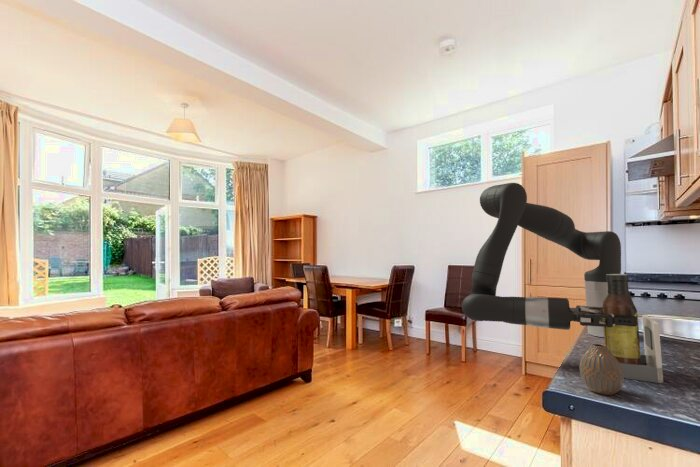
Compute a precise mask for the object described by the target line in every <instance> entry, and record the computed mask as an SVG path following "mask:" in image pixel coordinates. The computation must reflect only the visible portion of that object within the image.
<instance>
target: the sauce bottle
mask: <svg viewBox="0 0 700 467" xmlns="http://www.w3.org/2000/svg"><path fill="white" fill-rule="evenodd" d="M629 278H630V277H629V275H628V274H624V273H621V274H606V280H607V284H608V291H607V292H608V295H607V297H606V298H605V300H604V301H603V313H609V314H610V313H612V314H617V315H632V316H636V317H637V324H638V325H637V326H622V325H615V326H613V327H604V337H603V338H604V339H603V340H604V341H603V342H604V345H606V346H607V348H608V350H609V351H610V352H611V353H612V355H613V356H614V357H615V358H616V359H617V360H618V362H619V363H626V364H635V365H639V364H640V357H641V356H640V354H641V345H640V333H639V332H640V329H639V315H638V310H637V307H636V306H635V303H634V301H633V299H632V296H631V295H630V291H629V280H630V279H629ZM603 321H604V322H606V318H603Z"/></svg>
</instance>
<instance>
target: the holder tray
mask: <svg viewBox="0 0 700 467" xmlns="http://www.w3.org/2000/svg"><path fill="white" fill-rule="evenodd" d="M641 316H642V317H641V318H642V331H643V334H642V335H643V346H644V354H643V353H642V354H641V353H640V356H641V357H640V364H639V365H635V364H626V363H620V365H621V367H622V370H623V375H624V379H627V380H635V381H641V382H649V383H657V384H664V374H663V362H662V350H661V348H662V347H661V346H662V345H661V337H660V335H661V334H660V324H659V322H657V321H655V320H654V319H653V318H651V317H650V316H648V315H644V314H643V315H641Z"/></svg>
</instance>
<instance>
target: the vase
mask: <svg viewBox="0 0 700 467" xmlns="http://www.w3.org/2000/svg"><path fill="white" fill-rule="evenodd" d="M578 367H579V369H578V370H579V374H580V378H581V380H582V382H583V384H584V385H585V386H586V387H587V389H589V390H590V391H592V392H593V393H597V394H600V395H607V396H608V395H609V396H611V395H613V396H614V395H615V394H616V393H618V392H619V391H621V390H622V388H623V384H624V379H625V378H624V375H623V370H622V367H621V365H620V363H619V362H618V360H617V359H616V358H615V357H614V356H613V355H612V353H611V352H610V351H609V350H608V348H607V346H606V345H605V344H602V343H591V345H590V347H589V349H588V350H587V351H586V352H585V353H584V354H583V355H582V356H581V358H580V361H579V366H578Z"/></svg>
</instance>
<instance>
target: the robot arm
mask: <svg viewBox="0 0 700 467" xmlns="http://www.w3.org/2000/svg"><path fill="white" fill-rule="evenodd" d="M479 205H480V207H481V209H482V210H483V211H484V213H486V214H487V215H488V216H489V217H493V218H496V219H497V223H496V224H495V226H494V228H493V230H492V232H491V234H490V235H489V236H488V238H487V239H486V240H485V242H484V243H483V245H482V246H481V248H480V249H479V251H478V253H477V255H476V258H475V262H474V265H473V269H472V274H471V282H472V284H471V285H472V286H471V290H470V294H469V295H467V296H465V297H464V299H463V300H462V303H461V310H462V313H463V314H464V315H465V316H466V317H467V318H468V319H470V320H471V321H477V322H498V323H499V322H502V323H506V324H509V325H510V324H511V325H519V326H521V325H522V326H531V327H535V328H540V329H541V328H544V329H554V330H565V331H566V330H567V331H568V330H569V331H570V329H571V322H577V323H579V326H582V327H585V326H587V334H588V335H590V336H594V337H597V338H598V337H599V338H604V327H613V326H615V325H622V326H637V325H638V326H639V323H638V324H637V317H636V316H632V315H617V314H612V313H610V314H609V313H603V301H604V300H605V298H606V297H607V295H608V292H607V291H608V284H607V280H606V274H622V243H621V240H620V237H619V235H618V234H617V233H615V232H614V231H609V230H607V231H593V232H588V231H587V232H585V231H580V230H579V229H576V226H575V223H574V220H573V219H572V218H571V217H570V216H569V215H568V214H566V213H564V212H562V211H560V210H558V209H556V208H553V207H550V206H547V205H541V204H537V203H535V204H534V203H530V202H528V195H527V191H526V189H525V188H524V186H523V184H522V185H521V184H520V183H518V182H508V183H503V184H502V183H501V184H496V185H492V186H489V187H487V188H486V189H484V190H483V191H482V193H481V194H480V196H479ZM518 227H521V228H523V229H524V230H526V231H528V232H531V233H533V234H535V235H537V236H539V237H541V238H543V239H545V240H547V241H550V242H552V243H555V244H557V245H559V246H561V247H564V248H566V249H567V250H569V251H570V252H573V253H574V254H575V255H577V256H578V257H580V258H582V259H583V260H588V261H589V260H590V261H599V262H598V263H599V264H598V266H596V267H595V268H593V269H591V270H587V271H586V272H584V274H583V275H584V276H583V277H584V291H585V303H586V304H585V305H580V304H579V305H576V306H575V307H571V306H570V300H569V299H568V298H567V297H565V298H564V297H548V296H529V297H528V296H526V297H525V296H500V295H499V296H498V295H497V286H498V284H499V280H500V276H501V274H502V269H503V264H504V260H505V259H506V258H505V257H506V255H507V251H508V249H509V246H510V244H511V242H512V239H513V237H514V235H515V233H516V231H517V228H518ZM603 318H606V322H604V321H603Z"/></svg>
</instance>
